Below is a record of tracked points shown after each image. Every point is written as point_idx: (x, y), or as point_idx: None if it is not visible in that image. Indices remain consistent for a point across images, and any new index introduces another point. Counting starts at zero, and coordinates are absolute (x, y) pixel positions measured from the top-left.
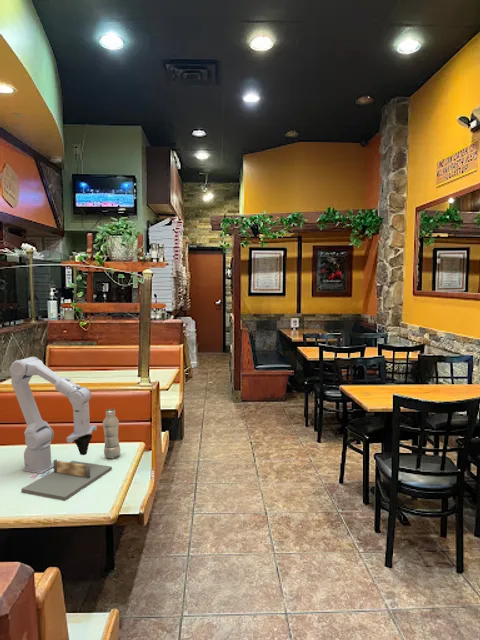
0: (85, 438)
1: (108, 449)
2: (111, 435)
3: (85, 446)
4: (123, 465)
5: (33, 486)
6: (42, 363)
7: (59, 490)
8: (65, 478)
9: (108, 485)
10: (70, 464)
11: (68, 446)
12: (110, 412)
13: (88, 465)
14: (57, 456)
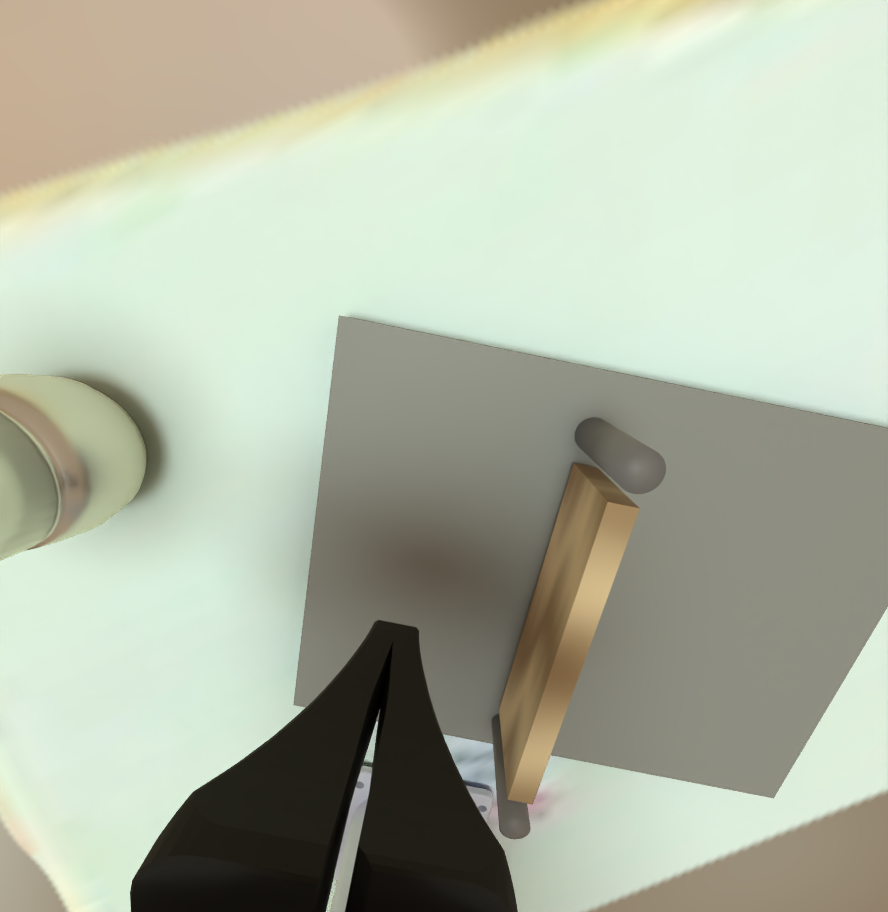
0: (412, 902)
1: (74, 476)
2: None
3: (404, 711)
4: (235, 239)
5: (742, 749)
6: None
7: (838, 552)
8: (615, 608)
9: (685, 179)
10: (580, 667)
11: (52, 826)
12: None
13: (647, 459)
14: None
